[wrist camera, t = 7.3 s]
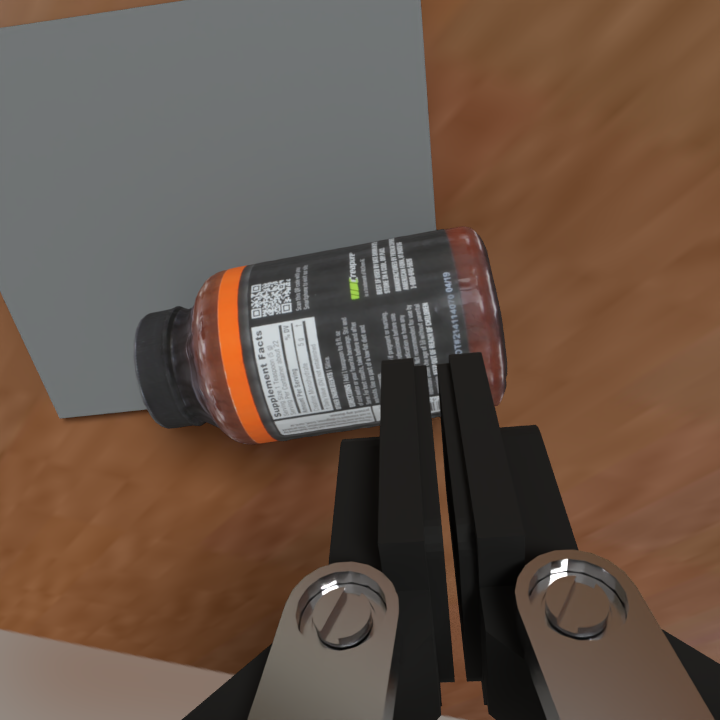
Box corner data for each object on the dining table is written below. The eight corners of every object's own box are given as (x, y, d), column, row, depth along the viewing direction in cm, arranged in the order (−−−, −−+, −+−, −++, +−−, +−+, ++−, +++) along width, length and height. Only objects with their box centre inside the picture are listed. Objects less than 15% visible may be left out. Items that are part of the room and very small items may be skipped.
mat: (416, -35, 18) (418, -35, 18) (444, 370, 25) (446, 378, 25) (-103, 43, 19) (-115, 45, 19) (65, 409, 27) (59, 418, 26)
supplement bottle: (487, 349, 24) (206, 393, 25) (470, 198, 21) (155, 256, 23) (517, 446, 19) (163, 494, 20) (501, 263, 16) (89, 334, 17)
